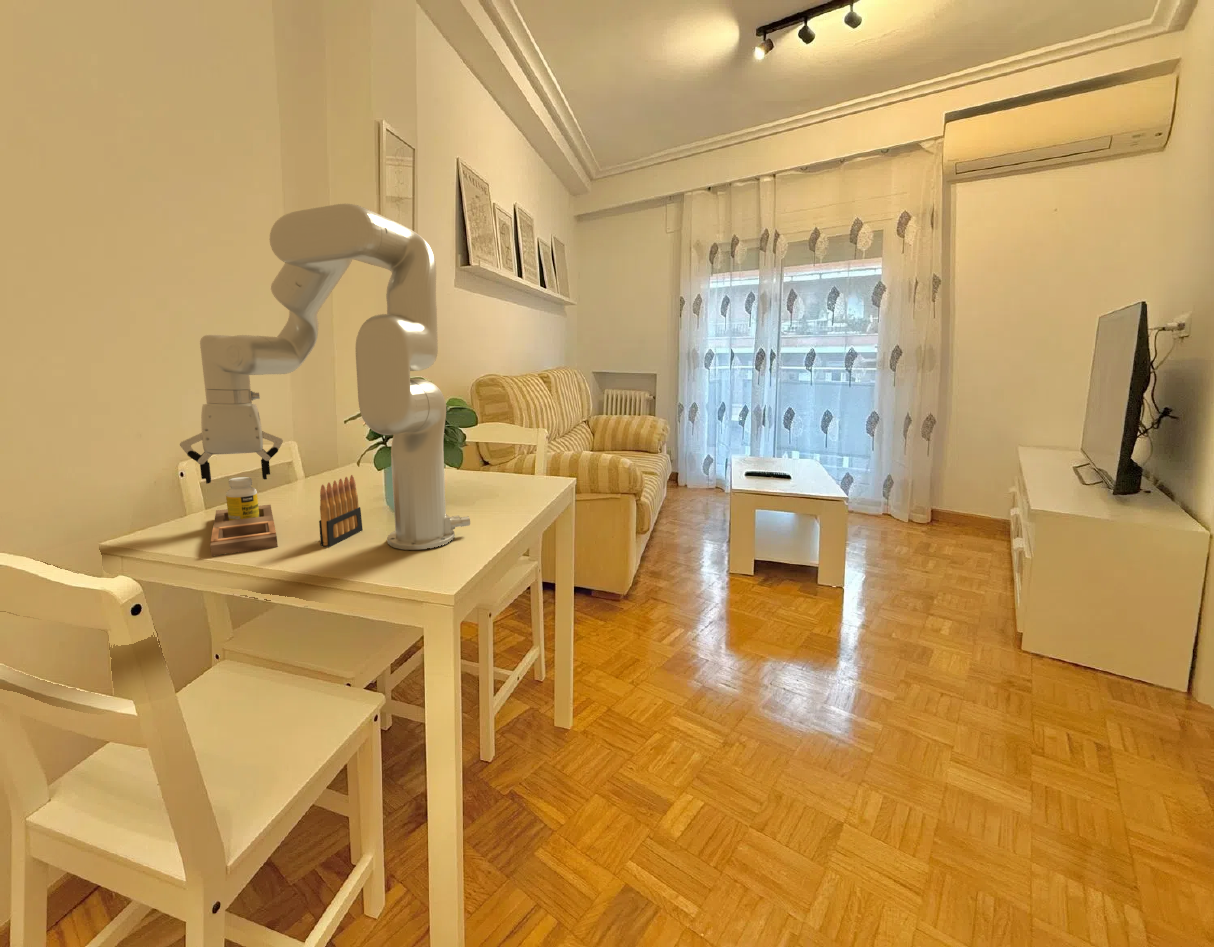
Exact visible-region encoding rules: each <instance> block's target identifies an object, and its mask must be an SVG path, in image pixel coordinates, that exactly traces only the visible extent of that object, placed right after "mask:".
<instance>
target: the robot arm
mask: <svg viewBox="0 0 1214 947" xmlns="http://www.w3.org/2000/svg"><path fill="white" fill-rule="evenodd" d="M269 244H270V248H271V250H272V252H273V254H274V256H275V257H276V258H277V259H278V260H280V261H281V262H283V263H284V264H283V265H282V267H281V268H280V271H278V273H277V275H276V277H275V278H274V279H273V281H272V283H271V285H270V290H271V294H272V295H273V297H274V298H275V299H276V300H277V302H279V303H280V305H282V306H283V307H284V308H285V309H286V310H288V311H289V315H288V319H287V321H286V323H285V325H284V326H283V328H282V329H281V331H280V332H279V334H278V335H277V336H270V335H269V336H268V335H267V336H265V335H249V334H248V335H247V334H245V335H244V334H242V335H240V334H239V335H226V334H225V335H224V334H206V335H203V336H201V338H200V341H199V345H200V353H201V354H200V355H201V362H202V363H201V364H202V366H201V367H202V372H203V374H202V375H203V382H204V383H203V384H204V391H205V401H206V403H205V404H202V406H201V424H200V425H201V427H200V428H201V432H200V433H197V434H195V435H193V436H191V437H189V438H187V439H185V440H183V441H180V443H179V447H180V448H181V449H182V450H183V451H184V453H186V454H187V456H188V457H189V458H190V459H192V460H193V461H195V462H196V463H197V464H198V465H199V468H200V469H199V470H200V475H201V476H200V478H201V480H205V483H206V485H207V484H211V482H212V475H211V467H210V465H211V464H210V461H209V459H210V458H211V457H212V456H213V455H235V454H236V455H237V454H253V453H255V454H257V455H258V456H259V457H260V458H261V459H260V465H261V476H262V480H267V479H268V478H267V475H271V469H270V468H271V466H270V460H271V459H272V458H273V457H274V456H275V455H276V454H277V453H278V452H279V450H280V448H281V446H282V445H283V441H284V440H283V438H281V437H279V436H276V435H273V434H271V433H268V432H265V431H263V429H262V423H261V418H260V413H259V409H258V405H257V404H256V403H253V402H252V401H254V400H260V399H261V398H260V397H261V396H260V392H256V391H253V390H251V380H250V379H251V378H250V376H261V375H262V376H264V375H265V376H266V375H286V374H291V373H293V372H294V371H297V369H299V368H300V366H302V364H303V363H304V362H305V361H306V359H307V358H308V357H309V355H310V354H311V352H312V351H313V349H314V348H315V346H316V344H317V340H318V334H319V319H318V313H319V311H320V309H321V308H322V307H323V305H324V303H325V302H326V301H327V299H328V298H329V296H330V294H331V293H332V292H333V290H334V289H335V288H336V286H337V284H338V283H339V282H340V281H341V279H342V277H343V275H344V274H345V273H346V271H347V270H348V269H349V267H350V265H351V263H352V261H358V262H361V263H364V264H368V265H371V266H374V267H379V268H382V269H386V270H388V271H390V273H391V275H390V278H389V280H388V282H387V286H386V293H385V294H386V295H385V296H386V313H382V314H381V313H380V314H375V315H373V316H371V317H369V318H367V319H366V320H365V321H364V322H363V323H362V324H361V326H360V328H359V331H358V333H357V336H356V341H355V365H356V366H355V368H356V384H357V385H356V386H357V398H358V399H357V401H358V408H359V412H360V416H361V418H362V420H363V422H364V423H365V424H366V426H367V427H368V428H369V429H370V430H371V431H373V432H374V433H376V434H380V435H383V436H393V437H392V441H391V446H390V447H391V448H390V449H391V450H390V456H391V457H390V458H391V465H390V466H391V480H392V494H393V495H392V496H393V512H394V526H395V528H394V529H395V530H393V531H392V532H390V533H389V534H388V535H387V538H386V539H387V544H388V545H389V546H391V547H392V548H395V549H399V550H404V551H405V550H406V551H407V550H408V551H409V550H410V551H420V550H428V549H427V548H430V549H435V548H438V546H439V547H442V546H444V545H443V544H445V545H447V544H449V543H450V542H449V541H451V540H452V541H454V539H455V537H454V536H456V534H455V529H456V528H458V527H459V528H462V527H463V528H464V527H468V526H470V525H471V519H470V516H468V515H467V516H463V517H461V516H460V515H454V516H453V515H452V516H449V515H448V514H447V513H446V512H447V510H446V496H445V495H446V489H445V488H446V486H445V485H446V484H445V483H446V482H445V461H444V459H445V458H444V457H445V456H444V455H445V454H444V434H445V426H446V419H447V418H446V417H447V403H446V398H445V396H444V393H443V391H442V390H441V389H440V388H439V387H438V386H437V385H436V384H435V383H433V382H432V381H430V380H427V379H423V378H415V377H414V378H411V372H418V371H419V372H421V371H424V370H427V369H429V368H431V367H432V366H433V365H434V363H435V362H436V360H437V359H438V358H437V357H438V354H439V353H438V352H439V350H438V349H439V345H438V344H439V342H438V341H439V340H438V313H437V312H438V308H437V306H438V305H437V263H436V258H435V255H434V252H433V250H432V248H431V246H430V245H429V243H428V242H427V241H426V239H424V237H422V236H421V235H420V234H419V233H417V232H416V231H414V230H413V229H411V228H410V227H407V226H406V225H403V224H401V223H400V222H398V221H395V220H393V219H391V218H389V217H386V215H385V216H384V215H381V214H380V213H377V212H375V211H374V210H371V209H369V208H366V207H363V206H361V205H359V204H355V203H354V204H353V203H338V204H332V205H331V204H330V205H325V206H319V207H313V208H306V209H301V210H295V211H291V212H289V213H285V214H284V215H282V216H281V217H279V218H278V219H277V220H276V221H275V222H274V223H273V225H272V226H271V229H270V232H269ZM264 440H267V441H270V442H272V443H273V444H272V447H271V448H269V449H268V451H266V450H265V449H264V448H263V447H264ZM199 442H202V448H203V453H201V454H200V453H198V451H196V450H194V449H193V447H192V446H193V445H195V444H197V443H199ZM453 538H454V539H453ZM452 541H451V542H452ZM448 542H449V543H448ZM441 545H442V546H441ZM434 547H435V548H434Z"/></svg>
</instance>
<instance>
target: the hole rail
mask: <svg viewBox="0 0 1214 947" xmlns="http://www.w3.org/2000/svg"><path fill="white" fill-rule="evenodd" d="M258 508H259V517H255V518H246V519H238V520H229V518H228V509H226V508H224V509H217V510H215V515H214V521H213V528H212V531H211V537H210V545H209V548H210V552H211V554H210V555H211V557H215V556H214V555H217V556H221V555H220V554H224V555H226V554H225V553H231V554H235V553H234V552H238V553H243V552H250V551H256V550H257V551H259V550H265V549H270V548H277V547H279V546H278V545H279V544H278V538H277V531H276V525H275V520H274V516H273V510H272V505H271V504H265V505H258Z"/></svg>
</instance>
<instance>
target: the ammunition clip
mask: <svg viewBox="0 0 1214 947" xmlns="http://www.w3.org/2000/svg"><path fill="white" fill-rule="evenodd" d="M356 485H357V483H356V480H355V477H354V475H353V474H351V475H350V477H349V478H348V477H347V476H345V478H344V480H343V479H342V478H339V480H338V482H337V481H336V480H333V483H332V484H331V482H328V483H327V485H326V487H325V484H324V483H323V484H321V487H320V490H319V492H320V493H319V497H320V498H319V499H320V502H319V504H320V505H319V512H320V520H319V521H318V523H319V524H318V525H319V537H320V538H319V539H320V541H319V542H320V546H321V547H325V548H331V547H333V546H335V545H337V544H339V543H341V542H343V541H344V540H345V541H346V540H347V539H350V538H351V537H352V536H354V535H356V534H358V533H361V532H363V520H362V512H361V511H362V510H361V509H362V508H361V507H360V506H359V495H358V493H357V486H356ZM360 531H361V532H360Z"/></svg>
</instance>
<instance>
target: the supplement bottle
mask: <svg viewBox="0 0 1214 947" xmlns="http://www.w3.org/2000/svg"><path fill="white" fill-rule="evenodd" d="M252 479H253V478H252V477H247V476H241V477H232V478H229V479H228V487H229V489H228V490H227V491H225V497H226V499H225V500H226V506H227V509H228V518H229V520H238V519H246V518H255V517H259V508H258V506H259V500H258V499H259V498H258V491H257V489H256V488H255V487H252V485H253V480H252Z"/></svg>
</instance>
